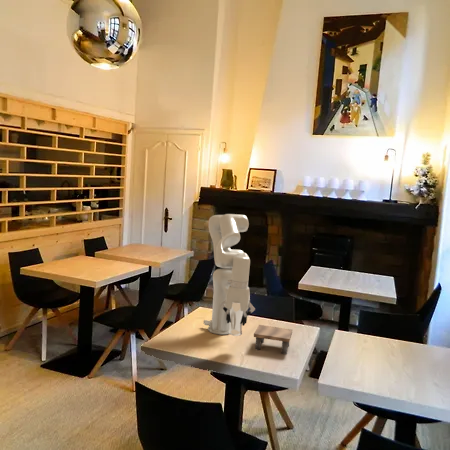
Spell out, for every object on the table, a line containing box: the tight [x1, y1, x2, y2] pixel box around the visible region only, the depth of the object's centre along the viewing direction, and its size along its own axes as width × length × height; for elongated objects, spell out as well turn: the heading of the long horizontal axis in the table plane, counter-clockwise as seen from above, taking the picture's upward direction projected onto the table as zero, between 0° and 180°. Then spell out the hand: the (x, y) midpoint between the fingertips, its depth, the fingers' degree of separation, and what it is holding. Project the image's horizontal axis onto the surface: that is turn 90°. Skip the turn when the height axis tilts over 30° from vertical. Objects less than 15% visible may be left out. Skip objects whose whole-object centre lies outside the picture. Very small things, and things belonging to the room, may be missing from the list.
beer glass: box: [228, 302, 244, 337], centre depth 193 cm, size 7×7×15 cm
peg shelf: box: [253, 324, 293, 355], centre depth 203 cm, size 16×14×8 cm
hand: (236, 323), depth 194 cm, fingers closed on beer glass, 6 cm apart
